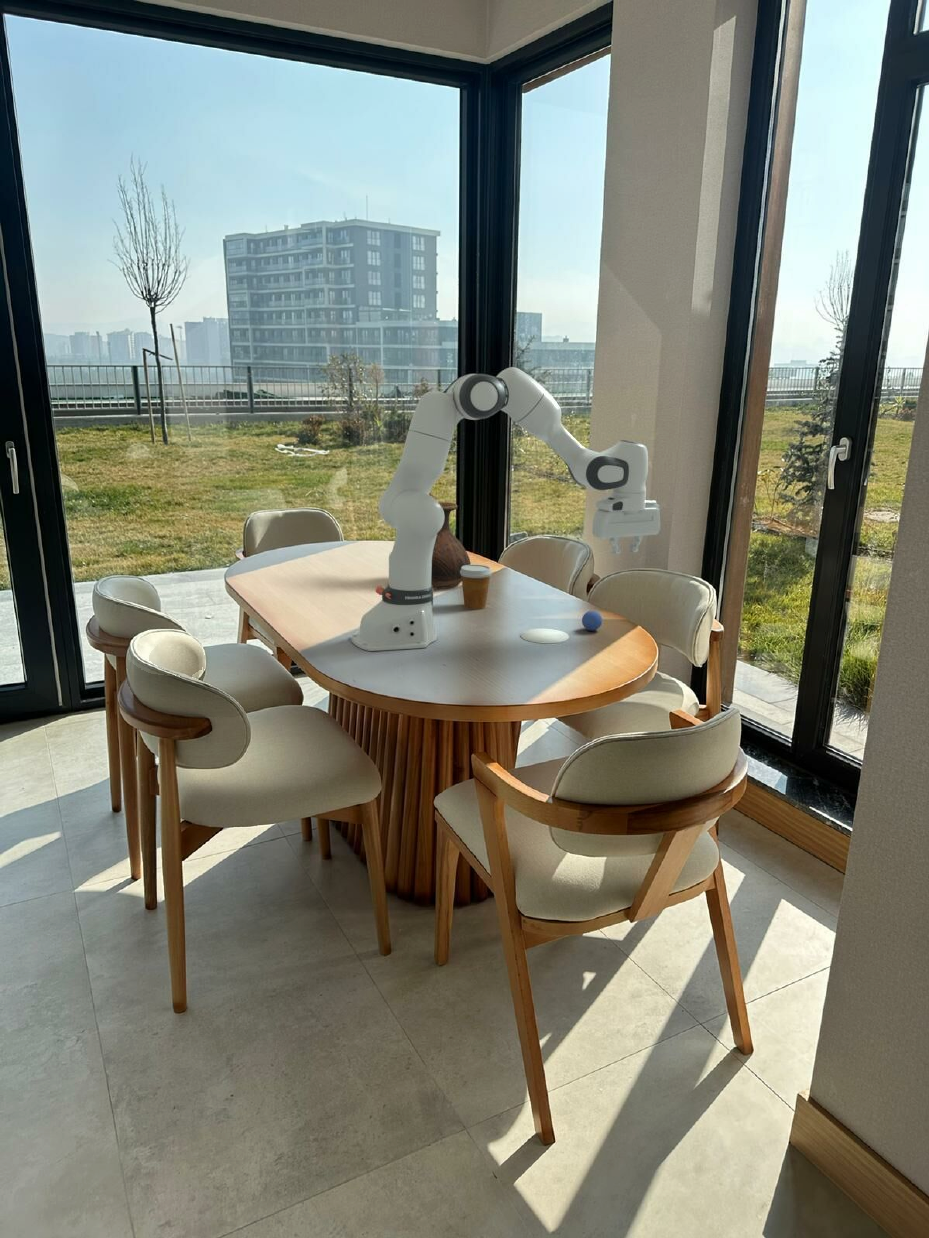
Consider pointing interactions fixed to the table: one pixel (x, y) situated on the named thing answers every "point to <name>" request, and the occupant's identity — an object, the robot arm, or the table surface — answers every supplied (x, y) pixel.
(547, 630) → the disc
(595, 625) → the ball
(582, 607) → the table surface
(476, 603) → the disposable coffee cup
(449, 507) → the jug
